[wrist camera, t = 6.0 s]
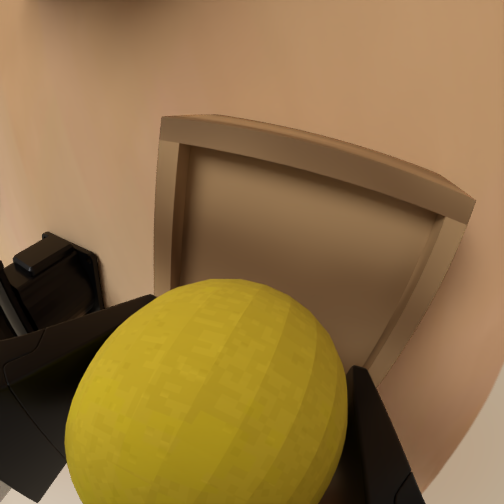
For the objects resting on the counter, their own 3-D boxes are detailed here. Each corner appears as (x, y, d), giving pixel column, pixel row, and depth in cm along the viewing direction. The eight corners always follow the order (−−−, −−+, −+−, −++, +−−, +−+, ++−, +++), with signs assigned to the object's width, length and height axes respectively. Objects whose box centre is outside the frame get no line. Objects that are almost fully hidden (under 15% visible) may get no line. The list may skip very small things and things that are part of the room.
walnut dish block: (363, 351, 15) (358, 411, 11) (195, 295, 17) (156, 340, 13) (439, 174, 10) (476, 200, 7) (215, 114, 12) (161, 116, 9)
